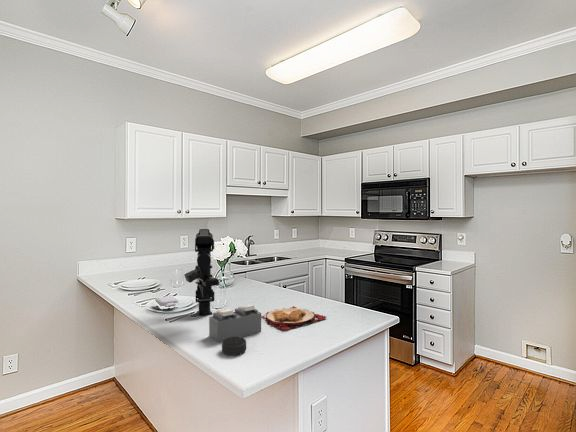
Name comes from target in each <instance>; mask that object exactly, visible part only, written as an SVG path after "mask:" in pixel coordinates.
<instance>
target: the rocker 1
mask: <svg viewBox="0 0 576 432" xmlns="http://www.w3.org/2000/svg"><path fill="white" fill-rule="evenodd" d="M215 311H216V312H215V313H217V314H219V315H220V316H228V315H233V312H234V310H232V309H229V308H222V309H217V310H215Z"/></svg>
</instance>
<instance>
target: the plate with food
mask: <svg viewBox="0 0 576 432" xmlns="http://www.w3.org/2000/svg"><path fill="white" fill-rule="evenodd" d="M316 316H317V317H316ZM326 318H327V316H326V315H321V314H319V313H315V312H314V311H311V310H309V309H306V308H298V307H296V306H292V307H287V308H280V309H279V308H278V309H273V310H271V311H267V312H266V313H265V315H261V319H262V320H264V321H263V322H265V321H266V322H265V324H267V325H270V326H274V328H276V329H280V330H282V331H284V330H286V331H287V330H290V329H292V328H293V329H296V328H297V327H302V326H303V325H305V326H306V325H307V323H305V322H307V321H310V324H314V323H317V322H319V321H322V320H325V319H326ZM313 322H314V323H313ZM307 326H308V325H307Z"/></svg>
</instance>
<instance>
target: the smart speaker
mask: <svg viewBox="0 0 576 432" xmlns="http://www.w3.org/2000/svg"><path fill="white" fill-rule="evenodd" d="M221 351H222V353H224V354H225V355H228V356H239V355H242V354H244V353H245V352H246V351H247V340H246V339H245V338H243V337H230V338H227V339H225V340H224V341H221Z"/></svg>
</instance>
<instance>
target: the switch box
mask: <svg viewBox="0 0 576 432" xmlns="http://www.w3.org/2000/svg"><path fill="white" fill-rule="evenodd" d="M261 316H262V312H260V311H258V309H257V308H255V309H254V310H249V311H241V310H239V309H238V308H234V311H233V315H228V316H220V315H219V314H217V313H216V312H212V316H209V318H208V319H209V321H208V325H209V326H208V327H209V328H208V329H209V333H208V336H209V337H210V338H211V339H212V340H214V341H215V342H216V343H222V342H223V341H224V340H225V339H227V338H230V337H241V338H243V337H245V336H248V335H254V334H258V333H261V332H262V318H261Z"/></svg>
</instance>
